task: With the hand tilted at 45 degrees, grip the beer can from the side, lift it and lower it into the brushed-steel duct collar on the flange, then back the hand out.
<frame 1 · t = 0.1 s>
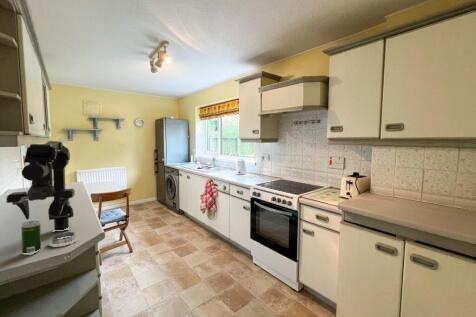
hand: (43, 217, 84), 15 cm above the counter, tool pointing down, fingers open, 9 cm apart
duct collar: (63, 242, 95), on the counter
beer can: (31, 253, 86), on the counter
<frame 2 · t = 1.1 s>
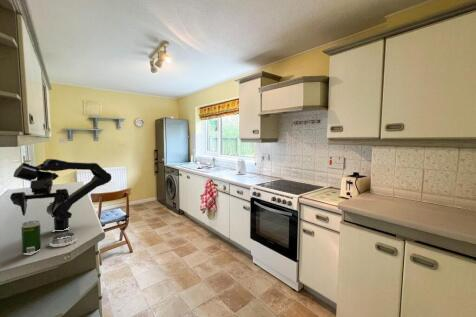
hand: (38, 213, 92), 13 cm above the counter, tool tilted 45°, fingers open, 9 cm apart
nothing on the counter moved.
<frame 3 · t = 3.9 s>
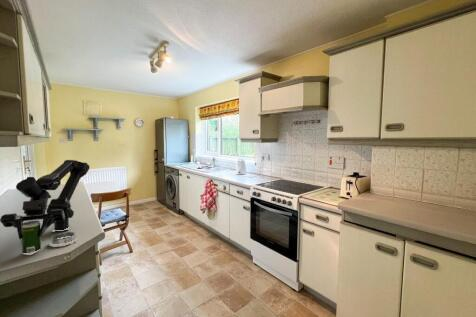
hand: (30, 237, 84), 7 cm above the counter, tool tilted 45°, fingers closed on beer can, 5 cm apart
beer can: (31, 253, 86), on the counter, touching gripper
when the fingers open (9 cm above the counter, at t = 8.4 s): beer can drops 1 cm, resting on duct collar.
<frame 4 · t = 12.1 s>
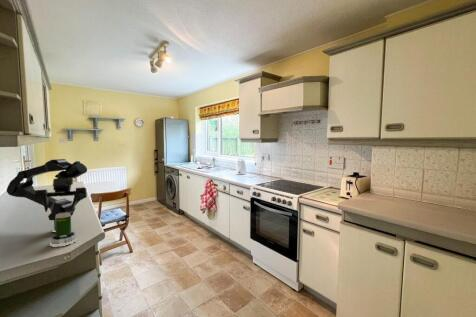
hand: (59, 210, 97), 14 cm above the counter, tool tilted 45°, fingers open, 9 cm apart
beer can: (63, 241, 95), resting on duct collar
at the end: beer can 0.2 cm off-centre on the duct collar, point 0.4 cm above the duct collar's base; beer can tilted 0°; the gripper is holding nothing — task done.
